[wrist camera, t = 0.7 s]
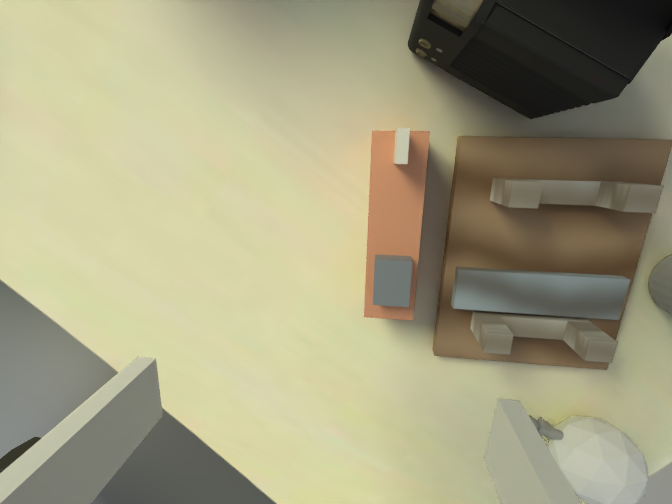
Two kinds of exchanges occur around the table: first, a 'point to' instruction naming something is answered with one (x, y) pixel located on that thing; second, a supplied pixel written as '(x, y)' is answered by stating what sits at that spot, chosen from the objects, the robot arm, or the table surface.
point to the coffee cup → (662, 284)
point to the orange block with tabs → (395, 221)
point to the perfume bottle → (597, 460)
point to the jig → (544, 246)
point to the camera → (541, 47)
